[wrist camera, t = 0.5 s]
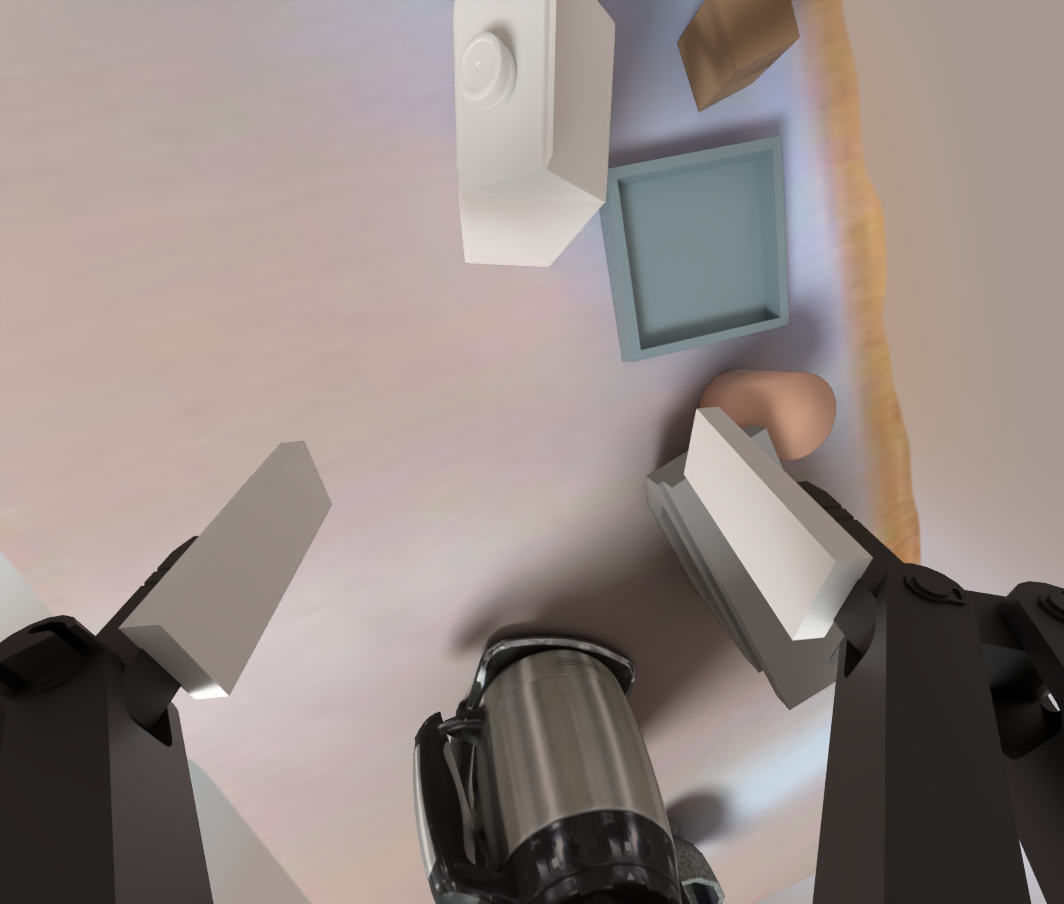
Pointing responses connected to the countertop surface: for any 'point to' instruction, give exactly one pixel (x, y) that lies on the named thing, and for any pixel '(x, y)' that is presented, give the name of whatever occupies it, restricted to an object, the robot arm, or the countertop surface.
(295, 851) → the countertop surface
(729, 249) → the tray
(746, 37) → the walnut block
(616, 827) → the coffee maker
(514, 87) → the milk carton
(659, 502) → the sharpening stone
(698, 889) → the mortar and pestle
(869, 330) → the countertop surface
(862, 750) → the robot arm
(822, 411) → the peach round cylinder
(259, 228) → the countertop surface
